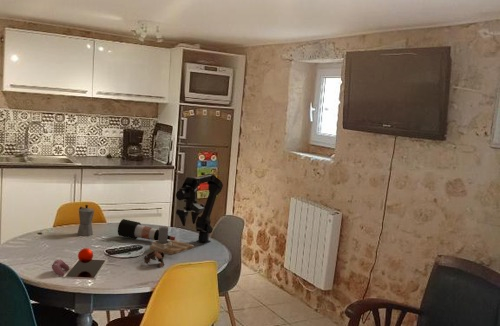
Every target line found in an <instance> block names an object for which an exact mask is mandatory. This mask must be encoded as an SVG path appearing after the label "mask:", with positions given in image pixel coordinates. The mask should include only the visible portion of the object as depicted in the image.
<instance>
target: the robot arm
mask: <svg viewBox="0 0 500 326" xmlns="http://www.w3.org/2000/svg"><path fill="white" fill-rule="evenodd" d="M204 183H206V184H207V185H208V186H207V188H208V195H207V199H206V202H205V204H204V203H201V204H199V203H198V200H196V199H197V198H196V197H197V191H199V188H198V187H199V186H200V185H201V184H204ZM223 188H224V184H223V182H222V180H221V179H220V178H219V177H217V176H216V175H215V174H213V173H206V174H203V175H200V176H187V177H186V178H185V179H184V182H183V184H182V185H181V187H179V189H178V190H177V192H176V193H175V198H176V199H177V200H178V201H183V202H184V203H185V204H184V205H185V206H183V208H178V209H176V210H175V214H176V215H177V216H178V217H179V219H180V222H181V224H182V227H185V226H186V221H187V218H188V217H189V213H190V214H191V222H192V224H193V225H195V230H196V232H198V237H197V238H198V239H196V242H197V243H202V244H207V243H210V242H212V241H211V240H209V239H210V234H212V233H213V227H212V226H211V223H212V221H211V215H212V211H213V208H214V205H215V202H216V200H217V196H218V195H219V194H220V193H221V192H222V189H223ZM200 214H201V215H200ZM199 215H200V216H199Z"/></svg>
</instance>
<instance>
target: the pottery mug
mask: <svg viewBox="0 0 500 326" xmlns="http://www.w3.org/2000/svg"><path fill="white" fill-rule="evenodd" d="M164 258H165V253H163V252H162V251H156V250H152V251H151V252H149V253H148V254H146V255H145V256H143V260H144V261H143V263H146V264H149V263H151V262H150V261H151V260H153V261H156V260H157V261H158V262H159V264H158V265H159V268H160V269H161V268H163V266H165V263H164Z"/></svg>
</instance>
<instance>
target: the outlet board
mask: <svg viewBox="0 0 500 326" xmlns="http://www.w3.org/2000/svg"><path fill="white" fill-rule="evenodd" d="M194 248H195V245H194V244H191V243H187V242H183V241H179V240H176V239H175V240H167V243H166V244H161V243H158V240H152V241H151V245H149V250H152V251H157V252H160V251H162V252H163V253H164V254H167V255H171V256H172V255H176V254H178V253H182V252H185V251H188V250H191V249H194Z"/></svg>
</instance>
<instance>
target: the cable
mask: <svg viewBox="0 0 500 326" xmlns="http://www.w3.org/2000/svg"><path fill="white" fill-rule="evenodd" d="M117 235H118V236H120V237H124V238H129V239H132V240H137V239H138V238H141V239H145V240H151V241H157V240H158V237H159V228H158V229H157V228H153V227H150V226H146V225H142V224H141V222H139V221H134V220H130V219H125V218H122V219H121V220H120V222H119V224H118V226H117ZM170 240H175V241H176V236H173V235H172V236H171V235H169V234H168V239H167V241H170Z"/></svg>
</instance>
